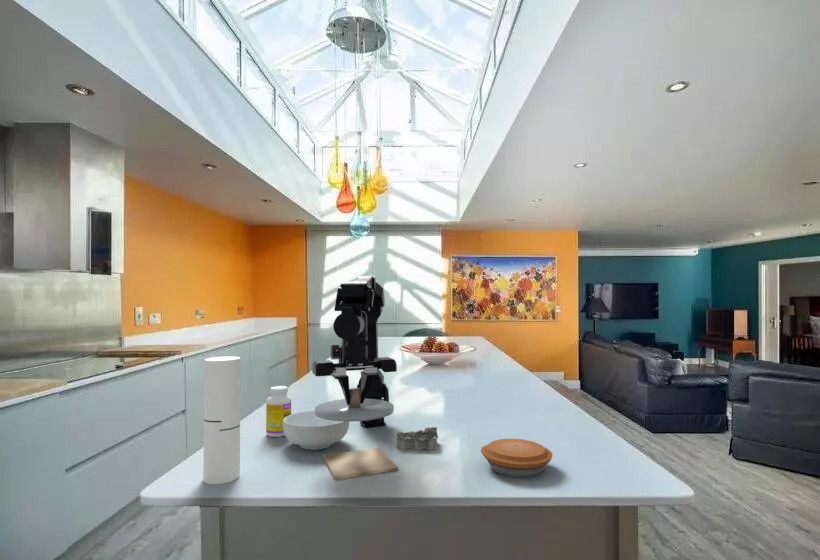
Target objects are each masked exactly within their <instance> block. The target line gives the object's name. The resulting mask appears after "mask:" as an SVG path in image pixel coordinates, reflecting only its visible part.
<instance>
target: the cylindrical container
mask: <svg viewBox="0 0 820 560" xmlns="http://www.w3.org/2000/svg"><path fill="white" fill-rule="evenodd" d="M203 363H204V364H203V365H204V366H203V367H204V369H203V372H204V373H203V374H204V375H203V377H204V378H203V382H204V383H203V462H202V463H203V464H202V465H203V469H202V470H203V475H202V477H203V478H202V481H203V483H205V484H207V485H223V484H228V483H231V482H234V481H235V480H238V479H239V478H240V476H241V474H240V473H241V357H240V356H232V355H231V356H229V355H227V356H212V357H207V358H205V359H204V361H203Z"/></svg>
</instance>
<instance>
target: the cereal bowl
mask: <svg viewBox="0 0 820 560" xmlns="http://www.w3.org/2000/svg"><path fill="white" fill-rule="evenodd" d="M349 426H350V421H348V422H347V421H332V420H326V419H322V418H319V417H317V416H316V415H315V410H307V411H301V412H296V413H291V415H289V416H287V417H285V418H284V419H283V431H284V434H285V436H284V437H285V438H286V439H287V440H288V441H290V442H291V443H292V444H294V445H297V446H300V448H301V449H304V450H309V449H310V451H311V450H314V451H317V450H322V449H327V448H329V447H331V446H332V445H333V444H336V443H338V442H339V441H341V440H342V439H343V438H344V437H345V436H346V435H347V433H348V431H349Z"/></svg>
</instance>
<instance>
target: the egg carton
mask: <svg viewBox="0 0 820 560" xmlns="http://www.w3.org/2000/svg"><path fill="white" fill-rule="evenodd" d="M437 428H438V427H437V426H435V427H434V426H431V427H428V426H427V427H425V428H424V430H423V429H419V430H417V431H413V430H411V431H406V432H403V431H397V432H396V436H395V437H396V448H397V449H400V450H406V449H413V450H417V451H418V450H420V449H427V450H428V451H433V450H435V449H437V448H438V439H439V435H438V429H437Z"/></svg>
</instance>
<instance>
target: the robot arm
mask: <svg viewBox="0 0 820 560" xmlns="http://www.w3.org/2000/svg"><path fill="white" fill-rule="evenodd" d="M384 307H385V290H384V287H382V285H380V284H379V283H378V282H377V279H376V276H373V275H358V276H356V279H355V280H354V281H342V282H341V283H340V286H337V291H336V299H335V303H334V311H335V312H341V313H340V314H339V315H337V316H336V318H335V319H334V322H333V326H332V328H333V331H334V334H335V335H336V336H337V337H338V338H340V339H342V340H341V346H340V345H339V344H333V345H331V346H330V359H331V360H338V362H337V363H334V362H333V361H331V360H330V359H327V360H325V359H324V360H314V361H313V362H312V365H311V366H312V370H311V372H312V374H313V375H314V376H315V377H329V376H332V378H334V379H335V380H337V382H338V383H339V386H340V388H341V390H342V394H343V396H344V399H345V400H346V403H347V405H349V403H350V392H349V389H350V378H349V376H348V374H347V371H348V372H349V371H360V378H359V380H358V383H357V384H356V388H360V389H361V404H363V402H364V400H365V399H377V400H383V401H387V402H390V395H389V394H390V393H389V388H388V386H387V383H385V376H384V374H383V373H394V372H395V373H396V372H397V369H398V367H397V366H398V365H397V360H395V359H394V358H391V357H389V356H386V357H385V356H384V357H379V338H378V337H379V333H378V332H379V330H378V320H379V318H380V317H381V314H382V312H383V308H384ZM359 423H360V424H361V425H362V426H363V427H364V428H371V427H379V426H381V427H382V426H387V423H386V421H385V417H383V418H379V419H374V420H367V421H359Z"/></svg>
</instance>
